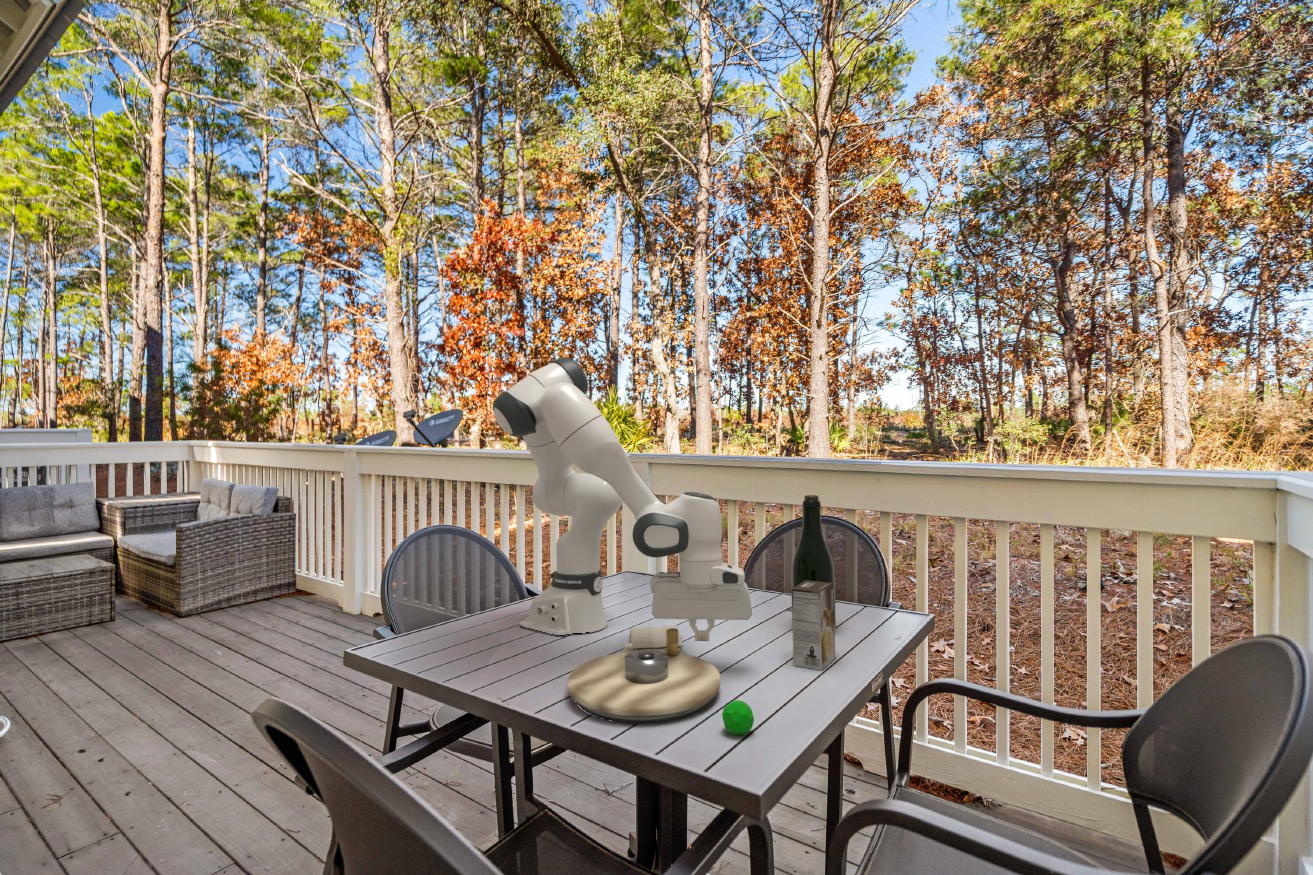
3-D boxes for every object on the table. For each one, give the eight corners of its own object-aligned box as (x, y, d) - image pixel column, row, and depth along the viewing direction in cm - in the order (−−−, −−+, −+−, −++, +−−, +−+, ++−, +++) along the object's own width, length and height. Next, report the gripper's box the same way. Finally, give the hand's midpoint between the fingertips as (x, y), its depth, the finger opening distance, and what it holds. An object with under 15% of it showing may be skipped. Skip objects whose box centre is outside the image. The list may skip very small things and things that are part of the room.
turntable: (536, 698, 110) (536, 661, 110) (616, 650, 135) (616, 620, 135) (682, 728, 98) (682, 686, 98) (740, 669, 123) (740, 636, 123)
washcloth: (630, 661, 135) (630, 647, 135) (628, 636, 153) (628, 623, 153) (685, 659, 135) (685, 644, 136) (677, 634, 153) (677, 621, 153)
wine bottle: (844, 634, 149) (841, 496, 150) (803, 638, 147) (800, 497, 147) (823, 622, 159) (821, 492, 160) (785, 626, 157) (782, 494, 158)
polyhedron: (720, 726, 102) (719, 696, 102) (750, 724, 103) (749, 695, 103) (725, 740, 97) (724, 709, 97) (756, 739, 98) (756, 708, 98)
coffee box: (806, 653, 137) (805, 579, 137) (836, 658, 133) (834, 582, 134) (792, 666, 129) (790, 587, 129) (823, 671, 126) (821, 591, 126)
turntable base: (545, 707, 111) (544, 684, 111) (619, 660, 134) (619, 641, 134) (679, 735, 99) (679, 710, 99) (735, 678, 123) (735, 658, 123)
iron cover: (616, 679, 115) (616, 657, 115) (638, 665, 122) (638, 644, 122) (655, 686, 111) (655, 663, 111) (675, 672, 118) (675, 650, 118)
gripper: (648, 575, 126) (649, 644, 126) (751, 575, 123) (752, 646, 123) (652, 568, 132) (653, 634, 132) (750, 569, 130) (751, 636, 130)
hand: (702, 640), depth 127 cm, fingers closed
